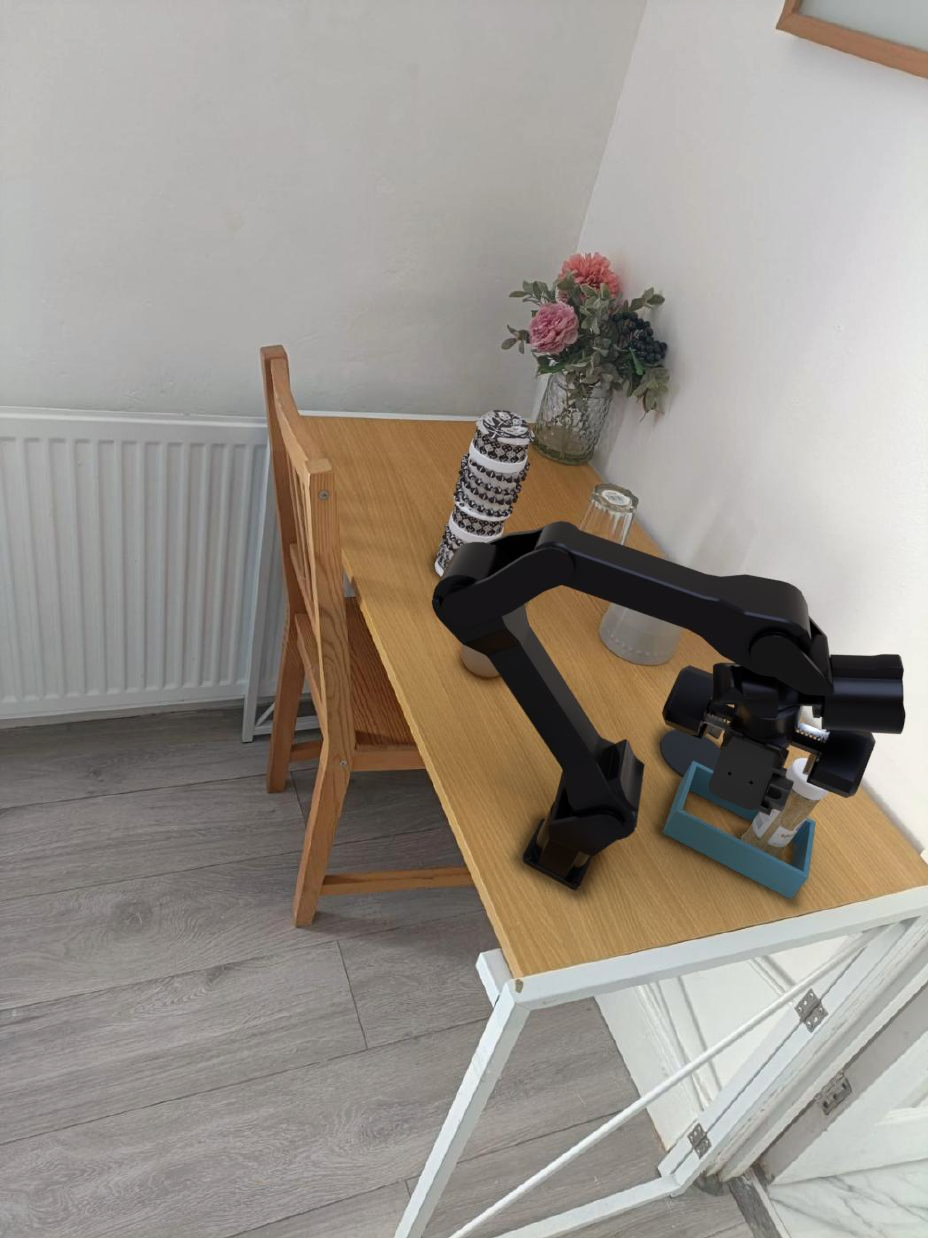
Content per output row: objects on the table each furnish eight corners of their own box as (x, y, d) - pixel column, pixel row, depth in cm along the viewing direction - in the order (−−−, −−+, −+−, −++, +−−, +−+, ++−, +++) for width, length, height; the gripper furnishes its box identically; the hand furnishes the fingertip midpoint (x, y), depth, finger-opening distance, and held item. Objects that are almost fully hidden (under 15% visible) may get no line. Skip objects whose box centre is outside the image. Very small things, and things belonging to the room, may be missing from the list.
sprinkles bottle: (771, 873, 98) (830, 796, 90) (734, 851, 100) (789, 773, 92) (780, 847, 102) (838, 771, 94) (743, 826, 103) (798, 749, 95)
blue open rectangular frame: (790, 900, 96) (808, 878, 94) (662, 833, 99) (676, 810, 97) (799, 843, 103) (816, 821, 101) (679, 782, 106) (693, 760, 104)
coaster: (721, 796, 106) (722, 795, 106) (652, 762, 108) (653, 760, 108) (733, 752, 113) (734, 750, 113) (668, 720, 115) (669, 718, 115)
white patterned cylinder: (502, 589, 129) (554, 437, 114) (444, 591, 125) (490, 434, 110) (479, 552, 135) (526, 404, 120) (424, 553, 131) (465, 399, 116)
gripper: (632, 744, 79) (646, 784, 93) (844, 833, 72) (825, 863, 85) (681, 638, 82) (687, 693, 96) (889, 714, 75) (864, 761, 88)
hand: (761, 752), depth 91 cm, fingers open, 9 cm apart
